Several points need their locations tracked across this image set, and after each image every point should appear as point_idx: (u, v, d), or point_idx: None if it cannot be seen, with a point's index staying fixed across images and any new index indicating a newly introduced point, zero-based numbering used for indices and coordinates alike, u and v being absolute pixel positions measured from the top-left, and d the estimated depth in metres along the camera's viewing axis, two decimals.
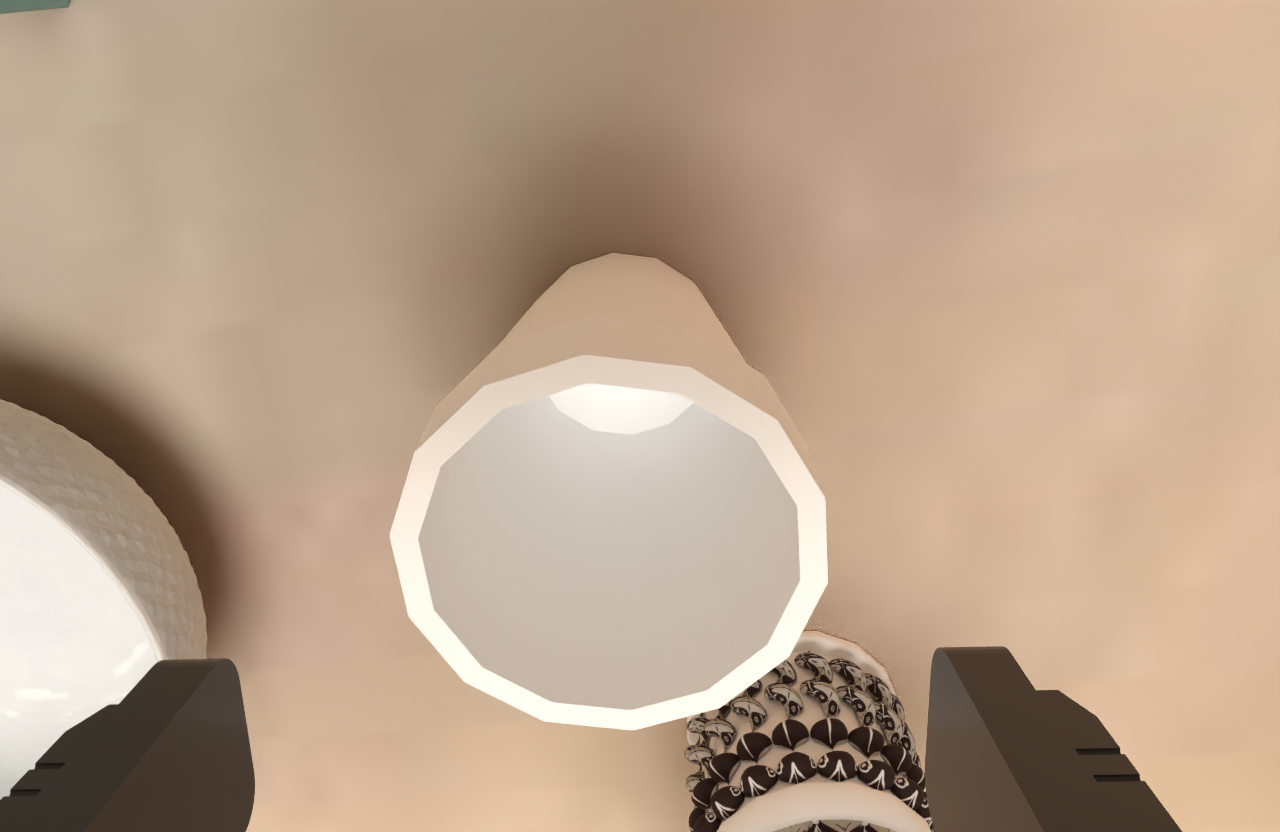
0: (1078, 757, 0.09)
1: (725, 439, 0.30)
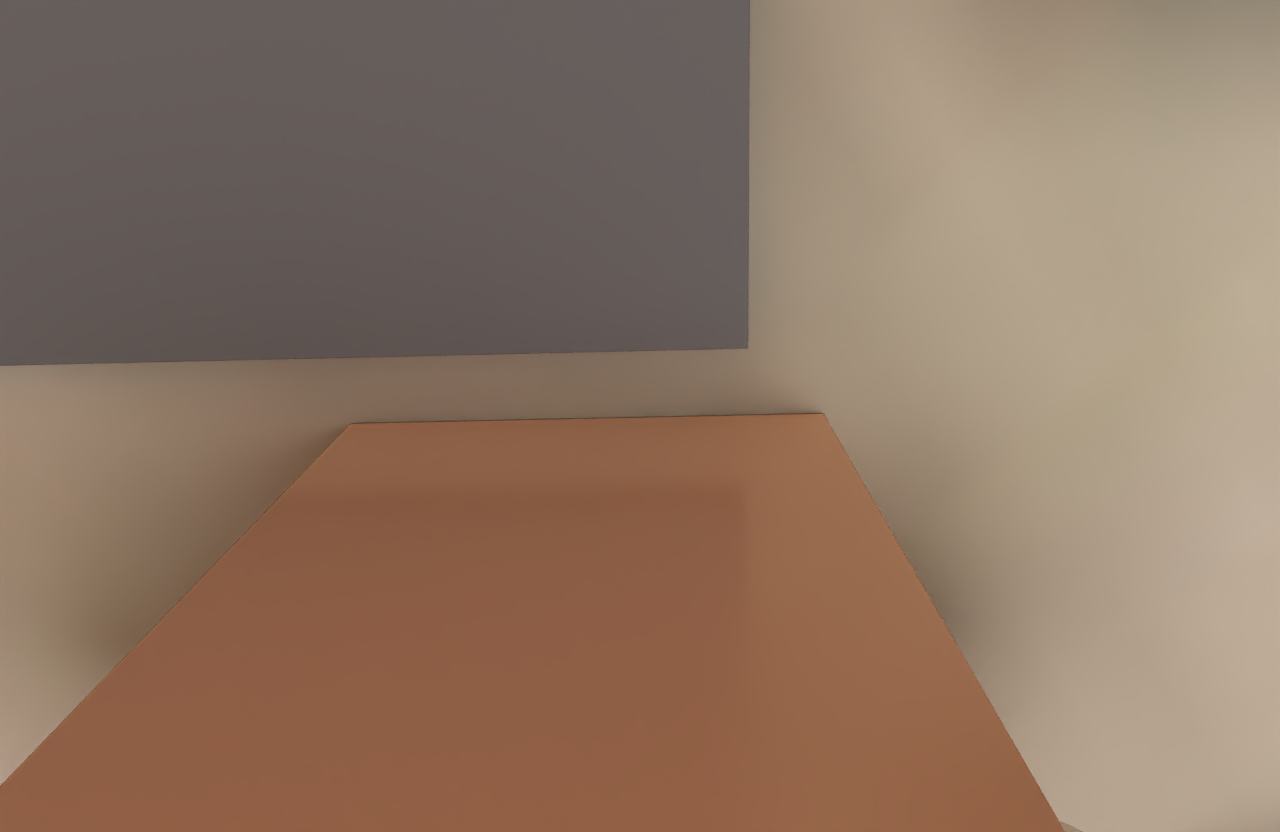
0: None
1: None
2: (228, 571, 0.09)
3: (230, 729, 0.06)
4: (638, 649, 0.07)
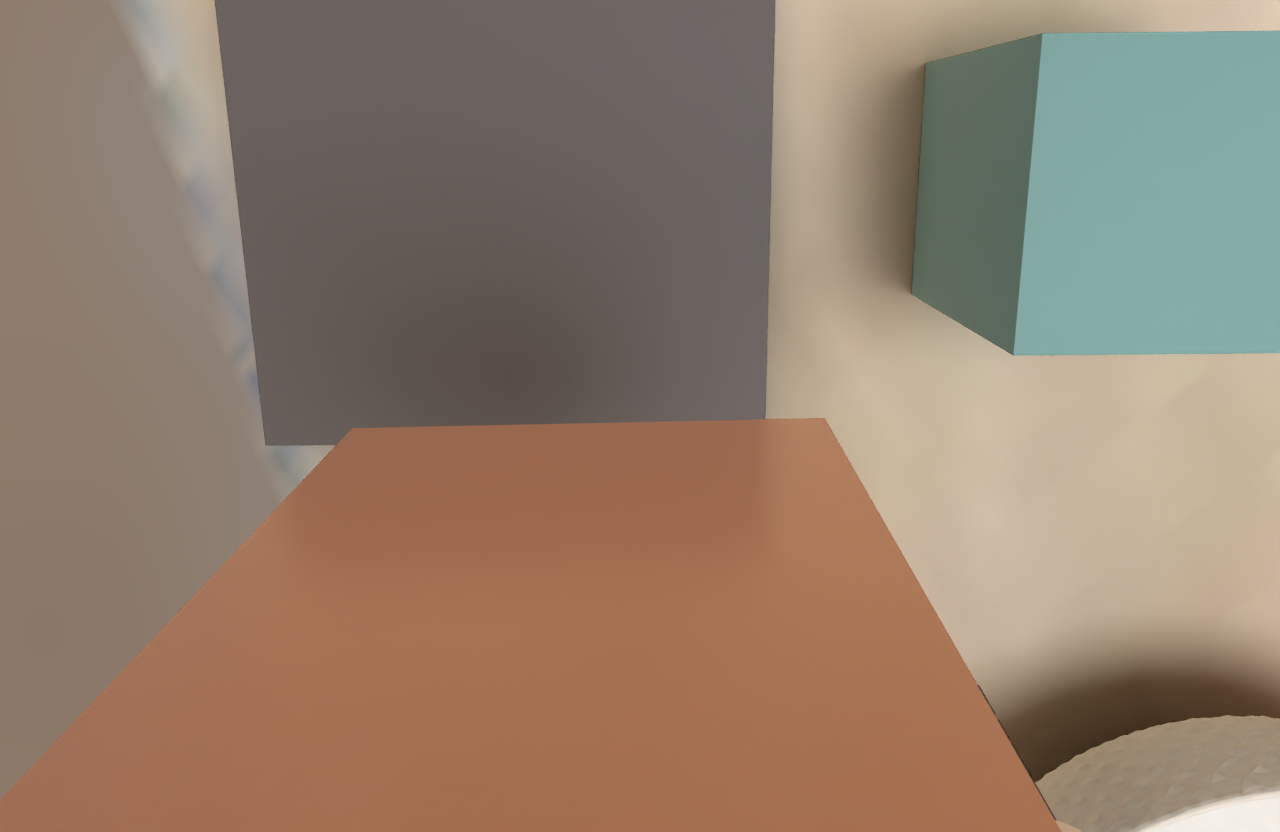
0: None
1: None
2: (231, 577, 0.09)
3: (234, 737, 0.06)
4: (640, 656, 0.07)
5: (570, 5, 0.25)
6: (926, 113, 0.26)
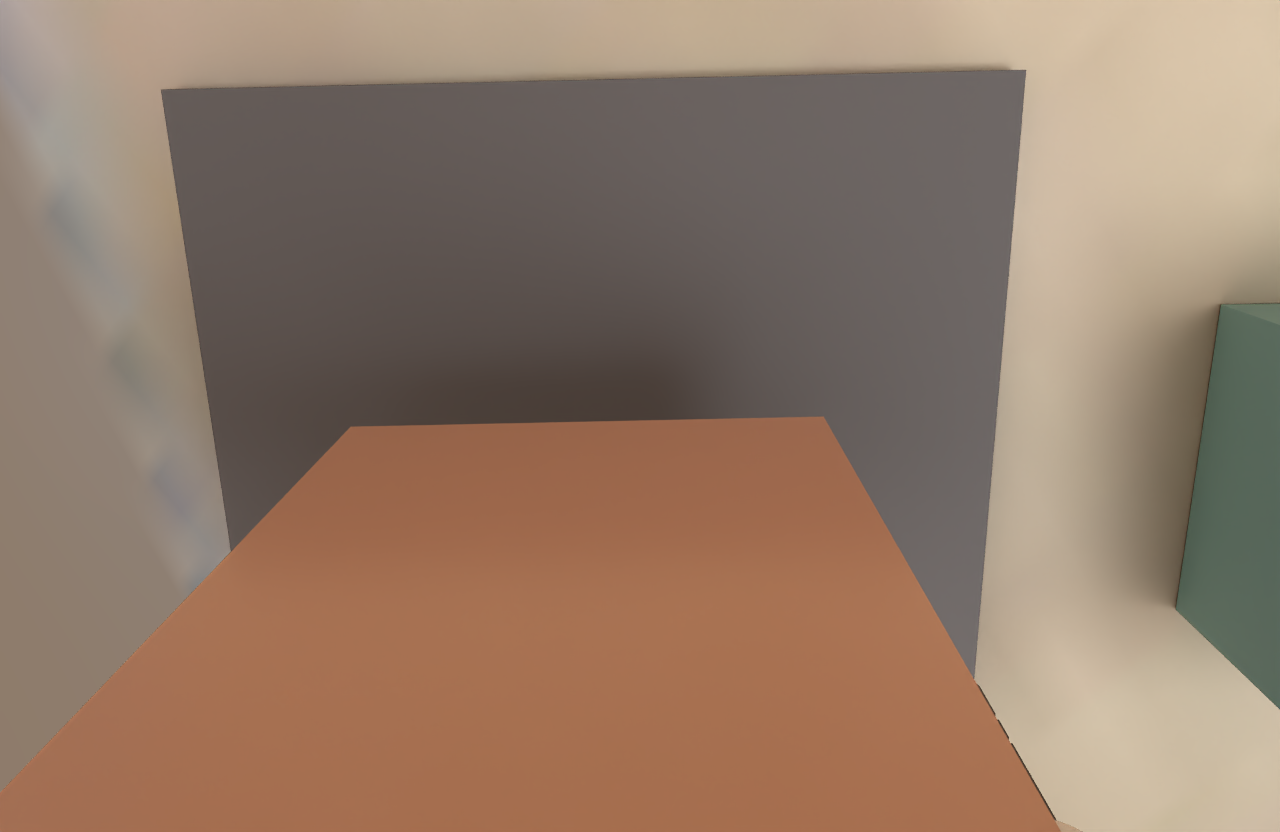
0: None
1: None
2: (228, 576, 0.09)
3: (230, 735, 0.06)
4: (637, 656, 0.07)
5: (707, 237, 0.17)
6: (1222, 378, 0.18)
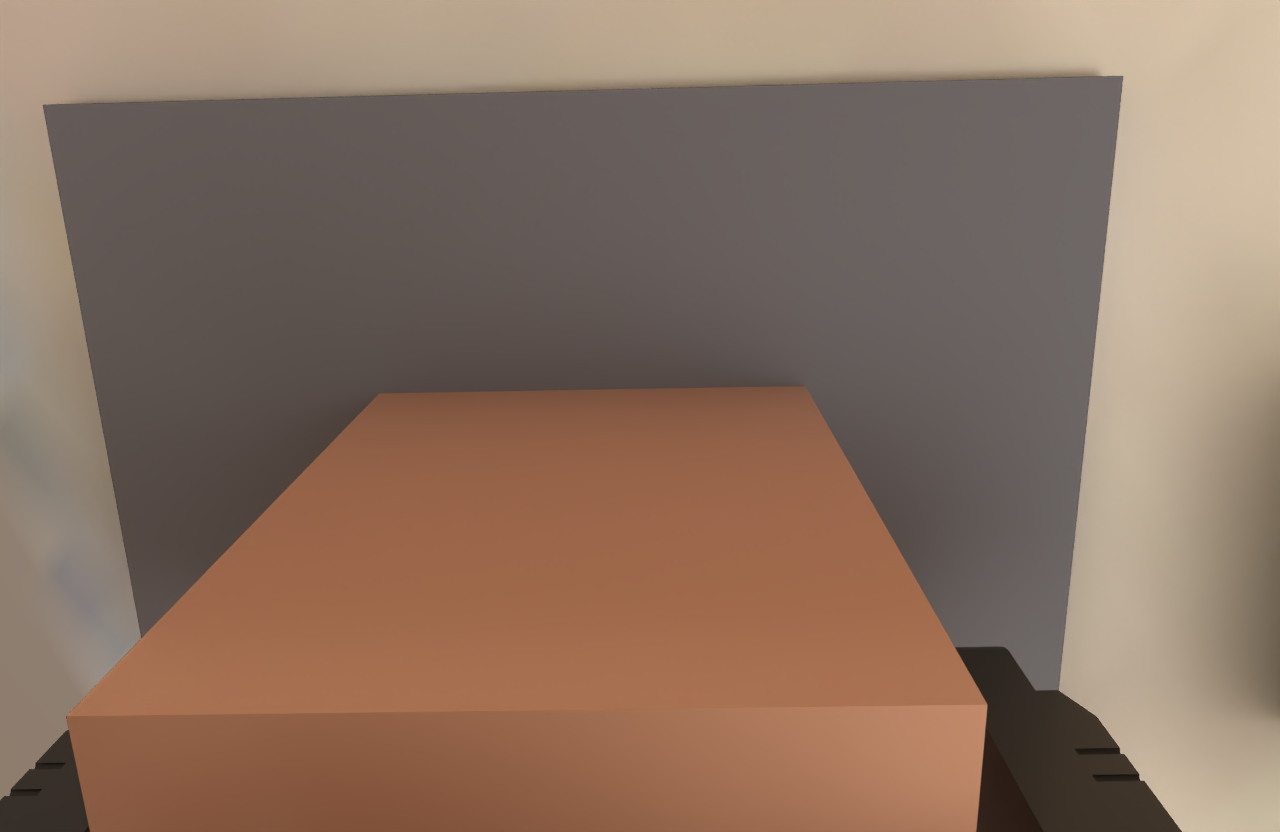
0: (1078, 757, 0.09)
1: None
2: (286, 508, 0.10)
3: (305, 619, 0.08)
4: (637, 565, 0.09)
5: (724, 284, 0.14)
6: None
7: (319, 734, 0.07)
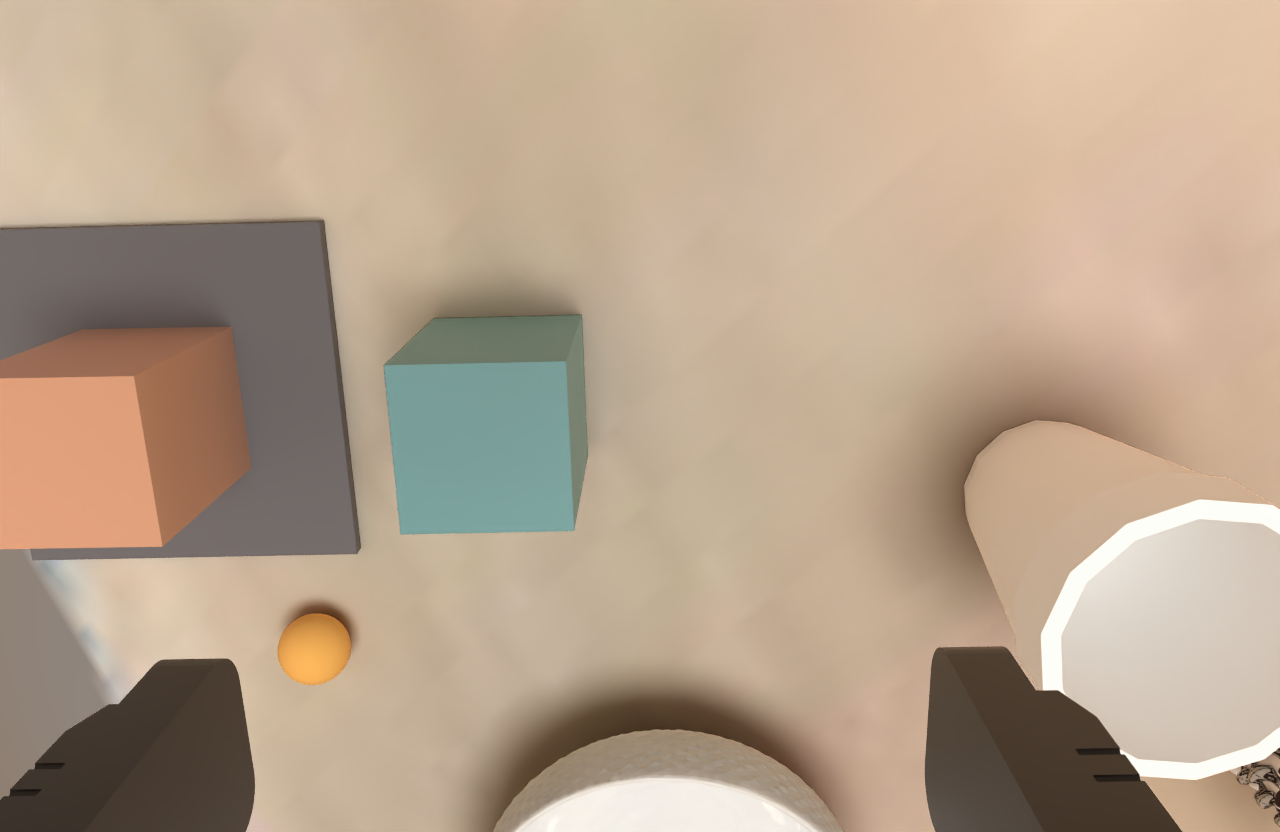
0: (1078, 757, 0.09)
1: None
2: (23, 353, 0.36)
3: (9, 369, 0.34)
4: (99, 361, 0.35)
5: (198, 291, 0.40)
6: None
7: (1, 383, 0.33)
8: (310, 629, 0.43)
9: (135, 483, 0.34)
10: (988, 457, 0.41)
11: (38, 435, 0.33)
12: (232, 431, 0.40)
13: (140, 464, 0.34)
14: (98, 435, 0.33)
